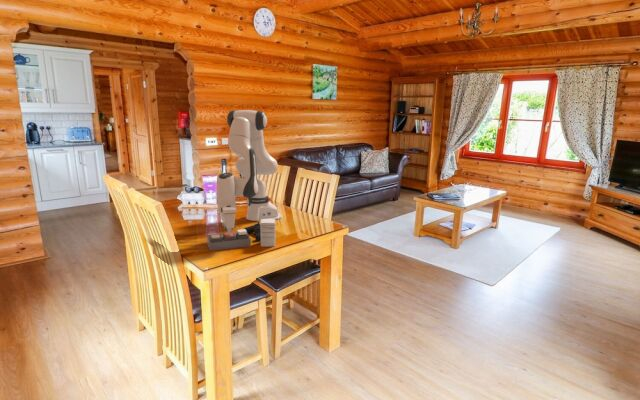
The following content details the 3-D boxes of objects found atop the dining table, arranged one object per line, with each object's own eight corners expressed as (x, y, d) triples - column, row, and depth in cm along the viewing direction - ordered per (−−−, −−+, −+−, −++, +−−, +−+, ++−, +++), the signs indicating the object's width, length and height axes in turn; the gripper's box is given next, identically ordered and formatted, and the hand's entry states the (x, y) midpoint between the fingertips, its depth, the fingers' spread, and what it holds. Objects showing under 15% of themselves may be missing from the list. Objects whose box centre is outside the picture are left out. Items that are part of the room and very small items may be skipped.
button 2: (245, 231, 190) (245, 229, 190) (246, 234, 186) (246, 231, 186) (237, 232, 188) (237, 229, 188) (238, 235, 185) (238, 232, 184)
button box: (245, 238, 198) (245, 228, 196) (250, 246, 187) (250, 235, 186) (206, 242, 190) (206, 232, 189) (209, 250, 179) (209, 239, 178)
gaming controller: (261, 245, 195) (274, 233, 199) (256, 238, 192) (270, 225, 196) (245, 237, 207) (258, 225, 212) (240, 229, 204) (253, 218, 208)
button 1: (219, 237, 185) (219, 234, 185) (220, 239, 182) (220, 236, 181) (211, 238, 184) (210, 235, 183) (212, 240, 180) (212, 237, 180)
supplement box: (261, 241, 194) (261, 218, 191) (275, 241, 194) (275, 218, 191) (260, 246, 186) (260, 222, 184) (275, 246, 187) (275, 222, 184)
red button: (232, 236, 188) (232, 233, 187) (233, 238, 184) (233, 235, 184) (224, 236, 186) (224, 234, 186) (225, 239, 183) (225, 236, 182)
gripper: (217, 201, 194) (218, 226, 197) (223, 211, 176) (224, 238, 179) (229, 200, 196) (230, 225, 199) (236, 210, 178) (237, 237, 181)
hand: (227, 232), depth 189 cm, fingers open, 8 cm apart
